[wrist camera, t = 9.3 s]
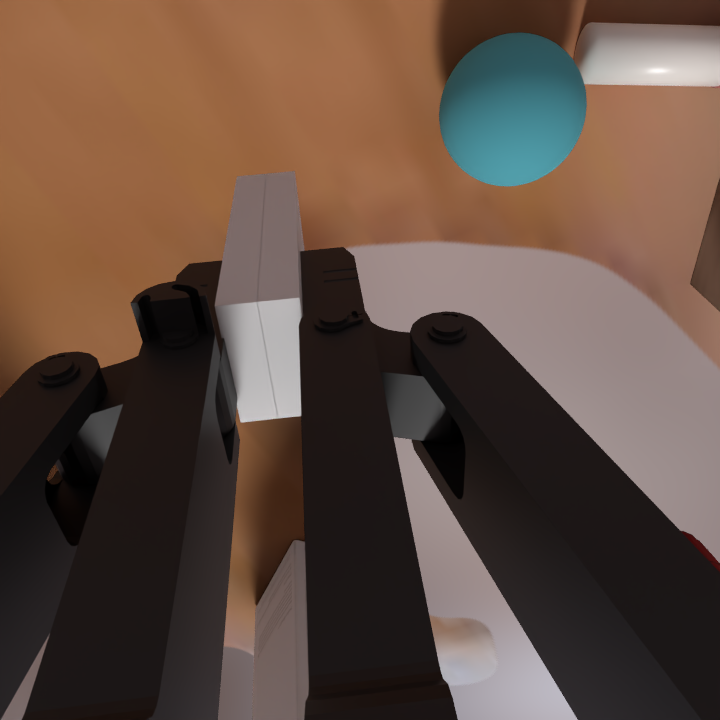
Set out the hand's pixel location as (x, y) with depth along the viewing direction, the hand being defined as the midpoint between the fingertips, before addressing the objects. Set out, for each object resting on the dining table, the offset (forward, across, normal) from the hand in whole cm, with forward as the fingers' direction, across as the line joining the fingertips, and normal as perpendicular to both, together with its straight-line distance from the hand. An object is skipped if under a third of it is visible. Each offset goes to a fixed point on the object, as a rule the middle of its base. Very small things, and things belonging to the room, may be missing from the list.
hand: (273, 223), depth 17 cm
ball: (+11, +10, -1) cm, 15 cm away
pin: (+13, +13, +1) cm, 18 cm away
